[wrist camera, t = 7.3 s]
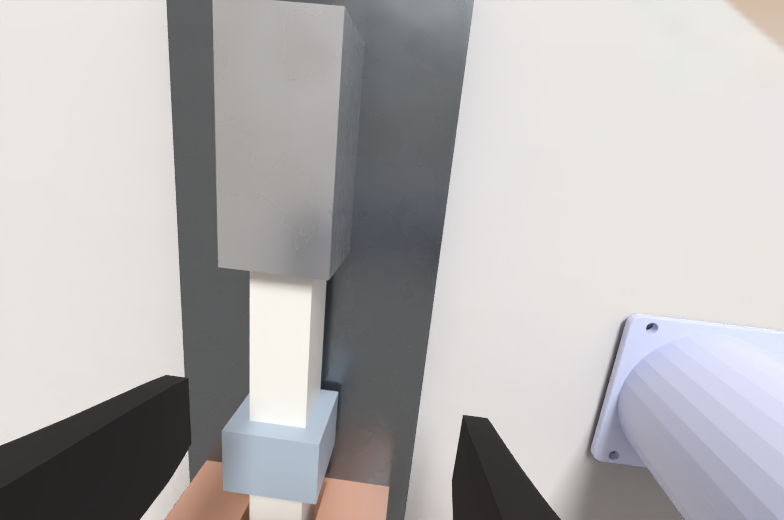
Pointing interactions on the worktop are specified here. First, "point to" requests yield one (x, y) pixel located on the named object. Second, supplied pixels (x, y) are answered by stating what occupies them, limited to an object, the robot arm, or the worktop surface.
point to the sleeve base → (316, 201)
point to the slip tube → (282, 403)
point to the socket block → (231, 510)
